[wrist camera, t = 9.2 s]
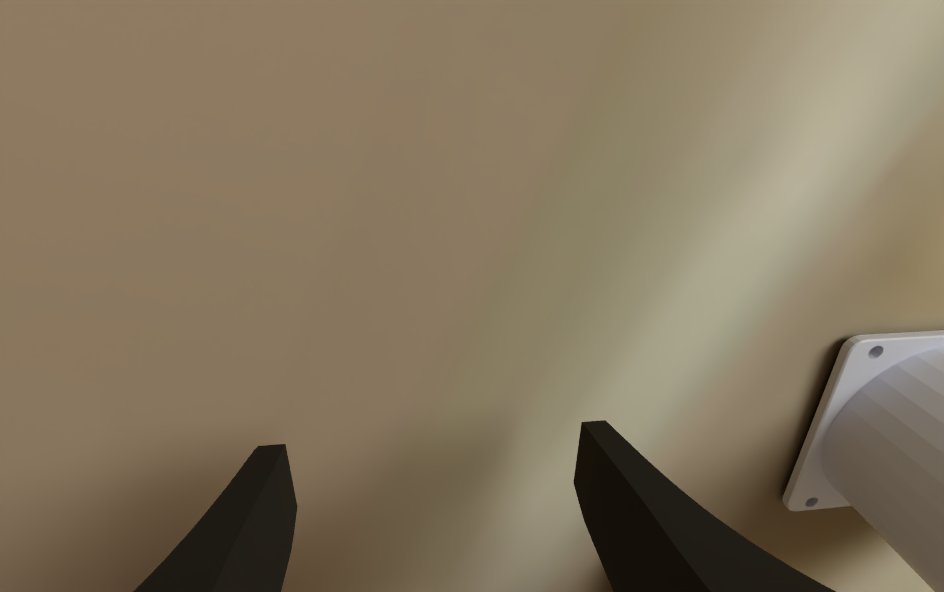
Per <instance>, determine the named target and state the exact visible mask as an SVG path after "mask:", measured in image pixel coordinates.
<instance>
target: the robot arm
mask: <svg viewBox="0 0 944 592" xmlns="http://www.w3.org/2000/svg"><path fill="white" fill-rule="evenodd" d="M574 486H575V489H576V493H577V497H578V501H579V504H580V508H581V511H582V514H583V518H584V521H585V524H586V526H587V529H588V531H589V534H590V536H591V539H592V541H593V543H594V546H595V548H596V551H597V553H598V556H599V558H600V560H601V563H602V565H603V567H604V570H605V572H606V575H607V577H608V579H609V582H610V584H611V586H612V589H613V591H614V592H835V591H834V590H832V589H830V588H828V587H826V586H824V585H822V584H820V583H818V582H817V581H815V580H813V579H811V578H809V577H808V576H806V575H804V574H802V573H801V572H799V571H797V570H795V569H794V568H792V567H790V566H789V565H787V564H785V563H784V562H782V561H780V560H779V559H777V558H776V557H774V556H772V555H771V554H769V553H767V552H766V551H764V550H762V549H761V548H759V547H758V546H756V545H755V544H753V543H752V542H750V541H749V540H747V539H746V538H744V537H743V536H741V535H740V534H739V533H737V532H736V531H734V530H733V529H731V528H730V527H729V526H727V525H726V524H724V523H723V522H721V521H720V520H719V519H717V518H716V517H715V516H713V515H712V514H711V513H709V512H708V511H707V510H705V509H704V508H703V507H702V506H700V505H699V504H698V503H697V502H695V501H694V500H693V499H692V498H690V497H689V496H688V495H687V494H685V493H684V492H683V491H682V490H680V489H679V488H678V487H677V486H676V485H675V484H673V483H672V482H671V481H670V480H669V479H668V478H667V477H665V476H664V475H663V474H662V473H661V472H660V471H659V470H658V469H656V468H655V467H654V466H653V465H652V464H651V463H650V462H649V461H648V460H647V459H645V458H644V457H643V456H642V455H641V454H640V453H639V452H638V451H637V450H636V449H635V448H634V447H633V446H632V445H631V444H630V443H629V442H627V441H626V440H625V439H624V438H623V437H622V436H621V435H620V434H619V433H618V432H617V431H616V430H615V429H614V428H613V427H612V426H611V425H610V424H609V423H607V422H606V421H591V422H582V425H581V432H580V439H579V447H578V454H577V461H576V469H575V476H574ZM782 501H783V503H784V505H785V506H786V507H787V508H788V509H789V510H790V511H806V510H816V509H826V508H836V507H845V506H852V507H853V508H854V509H855V510H856V511H857V512H858V513H859V514H860V515H861V516H862V517H863V518H864V519H865V520H866V521H867V522H868V523H869V524H870V525H871V526H872V527H873V528H874V529H875V530H876V531H877V532H878V534H879V535H880V536H881V537H882V538H883V539H884V540H885V541H886V542H887V543H888V544H889V545H890V546H891V547H892V548H893V549H894V550H895V551H896V552H897V553H898V554H899V555H900V556H901V557H902V558H903V559H904V560H905V561H906V562H907V563H908V564H909V566H910V567H911V568H912V569H913V570H914V571H915V572H916V573H917V574H918V575H919V576H920V577H921V578H922V579H923V580H924V581H925V582H926V583H927V584H928V585H929V586H930V587H931V588H932V589H933V590H934V591H935V592H944V330H938V331H920V332H903V333H885V334H868V335H857V336H853V337H851V338H849V339H848V340H847V341H846V342H845V343H844V344H843V345H842V347H841V349H840V352H839V354H838V357H837V360H836V362H835V365H834V367H833V370H832V372H831V375H830V378H829V380H828V383H827V385H826V388H825V390H824V393H823V395H822V398H821V401H820V403H819V406H818V408H817V411H816V413H815V416H814V419H813V421H812V424H811V426H810V429H809V431H808V434H807V436H806V439H805V442H804V444H803V447H802V449H801V452H800V454H799V457H798V460H797V462H796V465H795V467H794V470H793V472H792V475H791V477H790V480H789V483H788V485H787V488H786V490H785V493H784V495H783V500H782ZM296 512H297V503H296V498H295V492H294V487H293V482H292V477H291V471H290V466H289V461H288V456H287V450H286V445H285V444H280V445H267V446H258V447H257V448H256V449H255V450H254V451H253V453H252V454H251V455H250V457H249V458H248V459H247V461H246V462H245V463H244V465H243V466H242V467H241V469H240V470H239V471H238V473H237V474H236V475H235V477H234V478H233V479H232V481H231V482H230V483H229V485H228V486H227V487H226V488H225V490H224V491H223V492H222V494H221V495H220V496H219V497H218V499H217V500H216V501H215V502H214V503H213V505H212V506H211V507H210V508H209V510H208V511H207V512H206V513H205V514H204V516H203V517H202V518H201V519H200V521H199V522H198V523H197V524H196V525H195V526H194V528H193V529H192V530H191V531H190V532H189V533H188V534H187V536H186V537H185V538H184V539H183V540H182V541H181V542H180V543H179V544H178V546H177V547H176V548H175V549H174V550H173V551H172V552H171V553H170V555H169V556H168V557H167V558H166V559H165V560H164V561H163V562H162V563H161V564H160V565H159V566H158V567H157V568H156V569H155V570H154V572H153V573H152V574H151V575H150V576H149V577H148V578H147V579H146V580H145V581H144V582H143V583H142V584H141V585H140V586H139V587H138V588H137V589H136V590H135V591H133V592H281V589H282V585H283V581H284V577H285V573H286V569H287V565H288V561H289V557H290V553H291V548H292V542H293V535H294V528H295V520H296Z"/></svg>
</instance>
